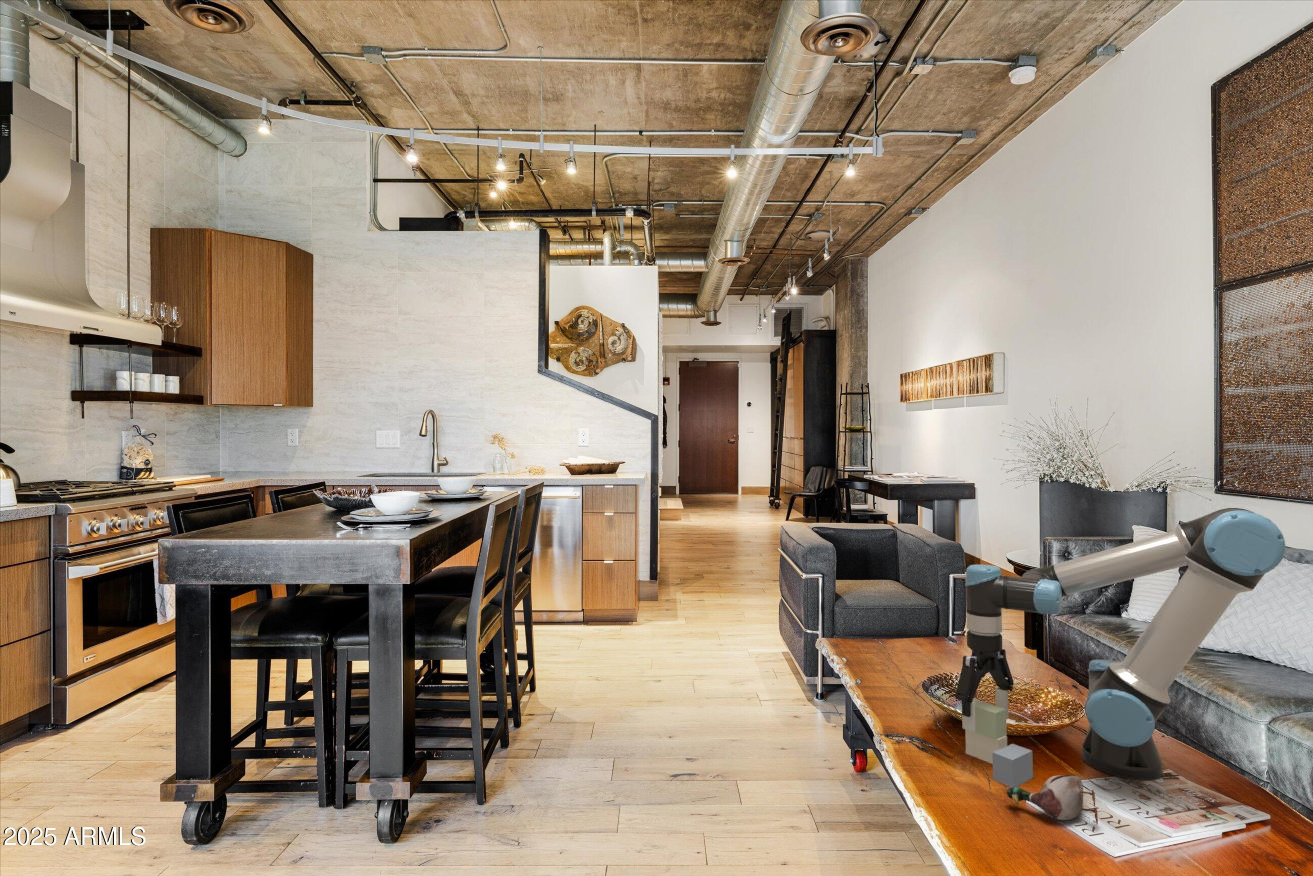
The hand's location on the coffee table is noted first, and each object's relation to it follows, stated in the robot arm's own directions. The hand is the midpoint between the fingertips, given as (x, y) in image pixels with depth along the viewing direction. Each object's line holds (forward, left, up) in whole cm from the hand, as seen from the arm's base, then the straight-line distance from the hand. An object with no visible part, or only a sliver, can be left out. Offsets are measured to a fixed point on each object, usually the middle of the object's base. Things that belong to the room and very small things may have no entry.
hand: (985, 723), depth 156 cm
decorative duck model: (-20, +11, -8) cm, 25 cm away
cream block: (0, 0, -8) cm, 8 cm away
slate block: (-9, +5, -8) cm, 13 cm away
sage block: (0, 0, -2) cm, 2 cm away
